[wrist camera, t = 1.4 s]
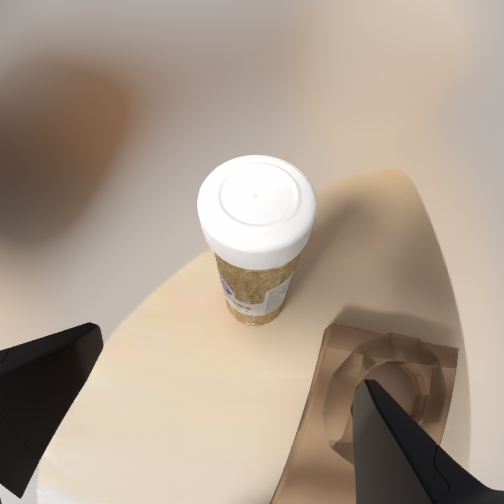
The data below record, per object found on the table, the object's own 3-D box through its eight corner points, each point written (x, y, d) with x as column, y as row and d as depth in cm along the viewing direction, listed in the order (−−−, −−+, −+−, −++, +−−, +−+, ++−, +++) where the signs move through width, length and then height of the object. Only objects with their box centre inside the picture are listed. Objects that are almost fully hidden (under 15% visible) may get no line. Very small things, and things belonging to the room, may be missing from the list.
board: (396, 512, 12) (408, 521, 10) (267, 508, 14) (269, 521, 12) (442, 350, 19) (458, 345, 17) (325, 327, 21) (333, 320, 19)
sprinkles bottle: (215, 298, 22) (171, 193, 10) (256, 262, 23) (258, 135, 11) (254, 339, 20) (256, 276, 8) (295, 300, 22) (343, 195, 10)
